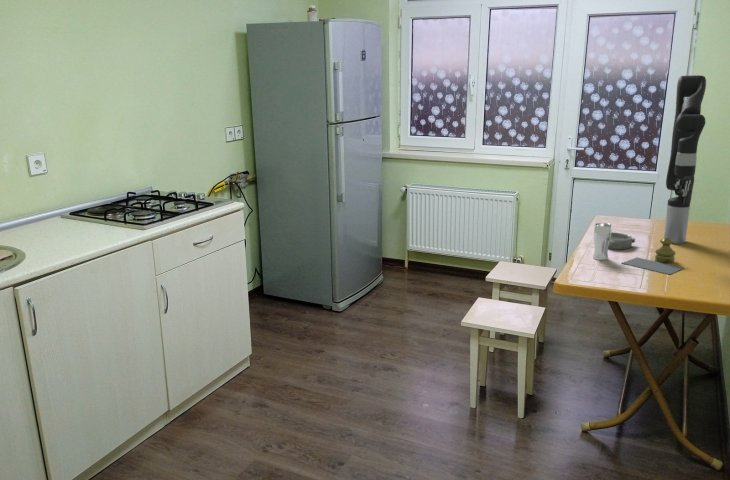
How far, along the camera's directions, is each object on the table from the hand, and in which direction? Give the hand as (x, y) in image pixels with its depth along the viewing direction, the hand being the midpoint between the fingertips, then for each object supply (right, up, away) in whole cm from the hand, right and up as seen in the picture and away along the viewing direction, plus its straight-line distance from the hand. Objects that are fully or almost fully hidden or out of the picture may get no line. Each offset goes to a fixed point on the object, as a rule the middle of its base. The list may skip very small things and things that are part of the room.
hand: (680, 204), depth 247 cm
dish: (-16, -18, +25) cm, 35 cm away
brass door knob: (-6, -24, +1) cm, 25 cm away
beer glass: (-31, -23, +7) cm, 39 cm away
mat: (-14, -26, -5) cm, 30 cm away
